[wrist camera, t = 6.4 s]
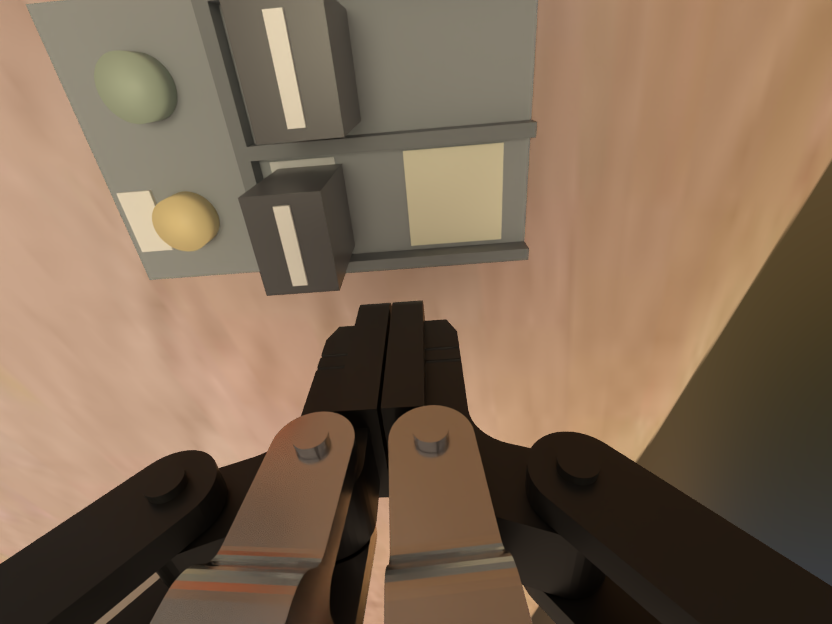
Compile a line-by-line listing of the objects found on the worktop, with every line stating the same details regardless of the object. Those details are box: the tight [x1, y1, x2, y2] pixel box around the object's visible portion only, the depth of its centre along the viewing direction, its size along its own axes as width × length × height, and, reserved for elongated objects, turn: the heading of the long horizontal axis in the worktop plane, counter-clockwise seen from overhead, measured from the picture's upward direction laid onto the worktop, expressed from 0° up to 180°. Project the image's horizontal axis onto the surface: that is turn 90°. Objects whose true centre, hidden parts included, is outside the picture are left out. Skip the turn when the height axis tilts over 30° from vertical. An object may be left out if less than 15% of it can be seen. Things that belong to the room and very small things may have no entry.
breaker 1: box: [219, 0, 361, 145], centre depth 15 cm, size 3×4×5 cm
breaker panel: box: [26, 0, 538, 280], centre depth 20 cm, size 20×12×4 cm, turn 95°
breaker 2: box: [238, 164, 355, 296], centre depth 18 cm, size 3×4×5 cm
